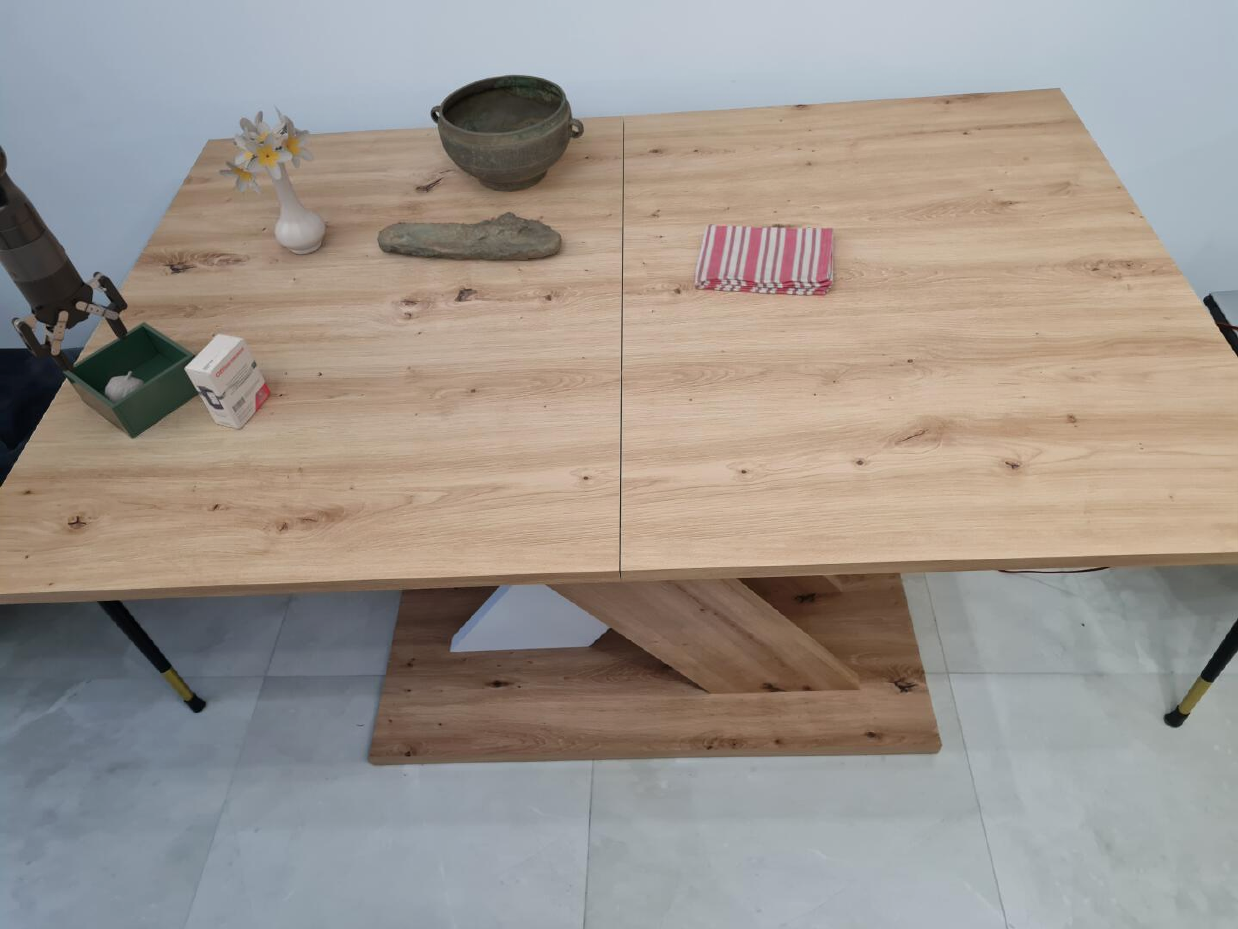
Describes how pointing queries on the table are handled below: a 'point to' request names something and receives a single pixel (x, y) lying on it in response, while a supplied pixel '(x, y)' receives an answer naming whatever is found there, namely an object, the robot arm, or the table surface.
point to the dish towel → (766, 260)
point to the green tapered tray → (148, 362)
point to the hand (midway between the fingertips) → (96, 353)
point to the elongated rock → (473, 239)
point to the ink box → (228, 380)
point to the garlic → (121, 387)
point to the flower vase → (278, 178)
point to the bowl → (506, 129)
